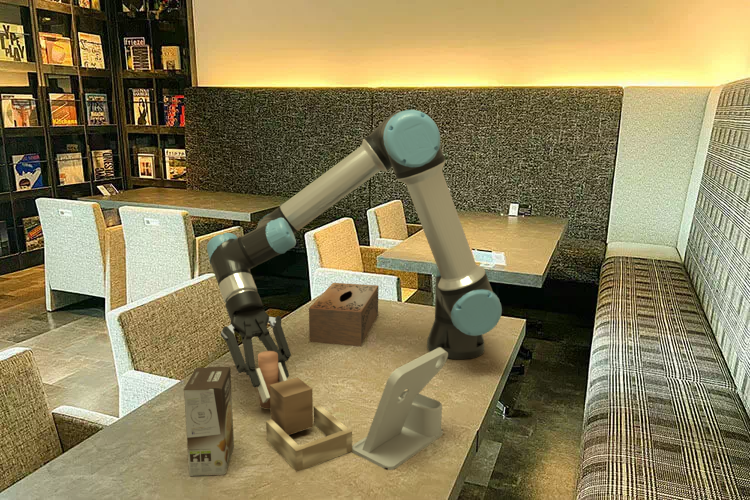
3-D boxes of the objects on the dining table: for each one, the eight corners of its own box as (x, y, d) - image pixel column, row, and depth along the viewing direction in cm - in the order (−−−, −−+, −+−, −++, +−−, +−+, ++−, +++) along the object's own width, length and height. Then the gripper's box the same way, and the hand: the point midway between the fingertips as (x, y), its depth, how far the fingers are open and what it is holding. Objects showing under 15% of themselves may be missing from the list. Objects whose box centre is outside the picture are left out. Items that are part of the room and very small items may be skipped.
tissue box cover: (360, 347, 154) (361, 312, 152) (309, 343, 157) (308, 308, 155) (378, 316, 179) (378, 285, 177) (333, 313, 182) (333, 282, 180)
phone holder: (406, 415, 118) (408, 333, 114) (447, 432, 112) (451, 346, 108) (348, 450, 106) (348, 359, 102) (391, 472, 99) (393, 376, 95)
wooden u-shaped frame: (266, 440, 109) (265, 421, 108) (319, 422, 115) (318, 404, 114) (296, 472, 99) (296, 451, 98) (352, 451, 105) (352, 431, 104)
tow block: (252, 404, 119) (250, 354, 117) (278, 396, 123) (277, 348, 120) (284, 436, 108) (283, 382, 105) (312, 426, 111) (312, 374, 109)
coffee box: (226, 475, 98) (222, 388, 94) (188, 477, 97) (182, 389, 94) (235, 445, 107) (231, 365, 103) (199, 447, 106) (194, 366, 103)
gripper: (272, 300, 133) (308, 393, 123) (199, 313, 123) (232, 415, 114) (282, 283, 127) (320, 379, 118) (206, 296, 118) (242, 401, 108)
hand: (277, 396), depth 116 cm, fingers closed on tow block, 4 cm apart
